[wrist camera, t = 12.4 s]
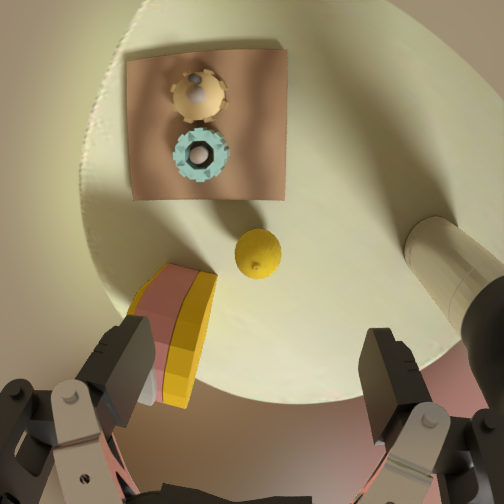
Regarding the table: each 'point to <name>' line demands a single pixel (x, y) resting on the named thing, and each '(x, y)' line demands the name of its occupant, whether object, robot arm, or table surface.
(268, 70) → the gear board
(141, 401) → the alarm clock
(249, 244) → the lemon
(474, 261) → the robot arm
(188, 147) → the teal gear
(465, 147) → the table surface
